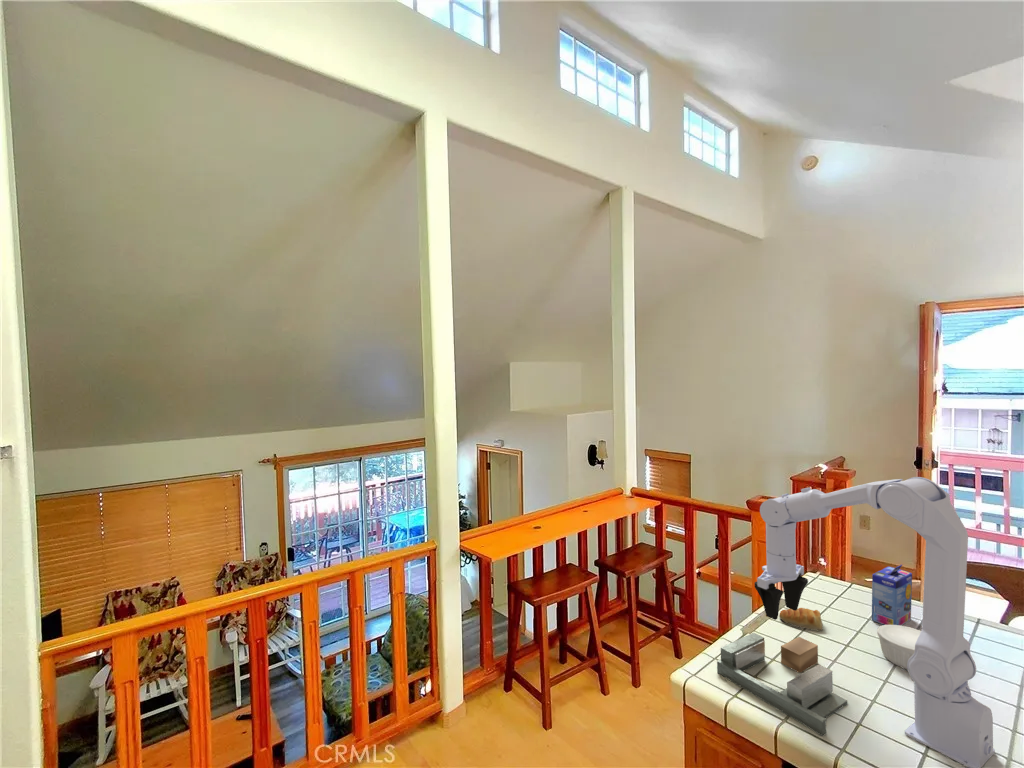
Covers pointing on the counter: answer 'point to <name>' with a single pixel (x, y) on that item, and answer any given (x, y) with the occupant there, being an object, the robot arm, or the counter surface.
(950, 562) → the robot arm
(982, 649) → the counter surface
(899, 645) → the ramekin
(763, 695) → the vise body
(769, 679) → the counter surface
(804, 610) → the pastry
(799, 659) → the block
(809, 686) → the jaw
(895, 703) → the counter surface
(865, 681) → the counter surface
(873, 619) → the ink cartridge box
